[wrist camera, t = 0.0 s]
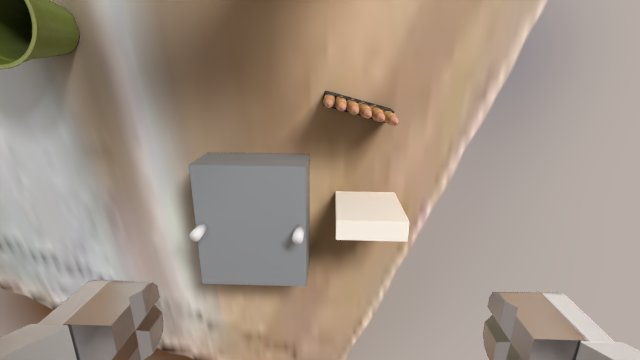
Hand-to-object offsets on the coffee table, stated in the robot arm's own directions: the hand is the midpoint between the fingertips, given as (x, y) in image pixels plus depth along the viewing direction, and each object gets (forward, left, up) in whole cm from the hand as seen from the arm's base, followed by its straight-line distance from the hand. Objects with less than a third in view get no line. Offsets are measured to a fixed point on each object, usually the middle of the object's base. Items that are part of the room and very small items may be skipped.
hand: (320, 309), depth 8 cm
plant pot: (-12, -42, -48) cm, 65 cm away
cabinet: (+17, -12, -48) cm, 52 cm away
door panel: (+15, +6, -48) cm, 51 cm away
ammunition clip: (-1, +4, -48) cm, 48 cm away
